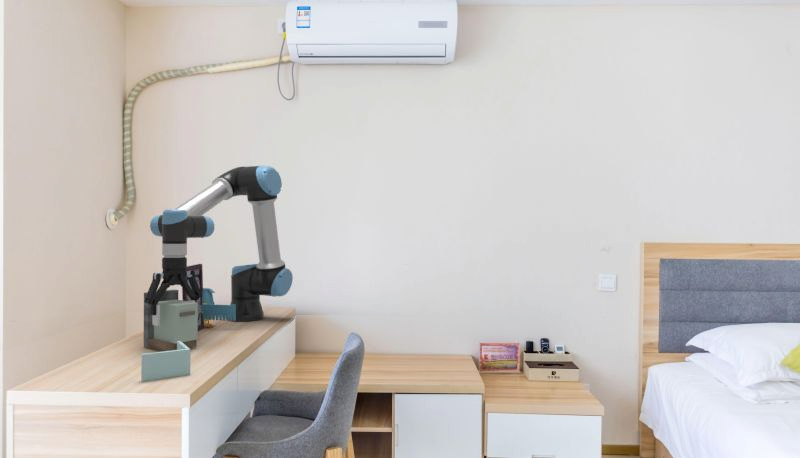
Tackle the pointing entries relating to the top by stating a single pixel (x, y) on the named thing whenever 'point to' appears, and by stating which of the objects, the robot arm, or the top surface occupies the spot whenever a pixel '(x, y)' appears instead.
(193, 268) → the picture frame
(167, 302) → the cabinet box
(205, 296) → the blue toy animal
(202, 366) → the top surface
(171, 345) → the grey bookend
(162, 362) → the l-shaped corner panel
